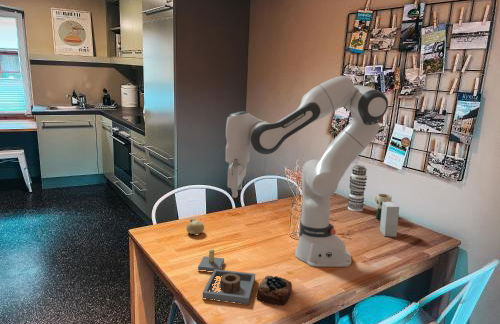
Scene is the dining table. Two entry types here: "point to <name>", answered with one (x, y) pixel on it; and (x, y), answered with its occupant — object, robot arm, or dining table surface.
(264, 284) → the pastry
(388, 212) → the skincare box
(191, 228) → the onion
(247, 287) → the tray
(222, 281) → the ring
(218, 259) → the grey peg stand
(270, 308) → the dining table surface
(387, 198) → the character mug
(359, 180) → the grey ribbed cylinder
